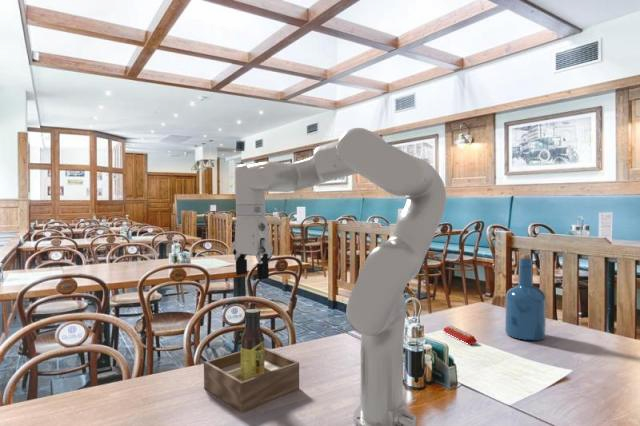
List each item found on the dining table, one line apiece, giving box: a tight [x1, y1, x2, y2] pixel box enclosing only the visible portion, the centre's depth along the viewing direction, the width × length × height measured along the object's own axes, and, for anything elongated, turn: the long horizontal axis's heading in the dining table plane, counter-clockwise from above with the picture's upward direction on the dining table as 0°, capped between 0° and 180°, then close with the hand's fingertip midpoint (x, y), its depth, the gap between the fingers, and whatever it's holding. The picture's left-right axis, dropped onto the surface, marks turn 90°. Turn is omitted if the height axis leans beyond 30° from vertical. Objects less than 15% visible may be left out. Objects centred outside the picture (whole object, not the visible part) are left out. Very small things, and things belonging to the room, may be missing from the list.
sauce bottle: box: [240, 308, 266, 381], centre depth 110 cm, size 6×6×20 cm
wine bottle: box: [504, 253, 547, 341], centre depth 152 cm, size 14×13×30 cm
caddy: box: [203, 347, 300, 414], centre depth 111 cm, size 18×18×7 cm
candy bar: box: [443, 325, 478, 345], centre depth 150 cm, size 16×4×3 cm, turn 18°
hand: (252, 276), depth 110 cm, fingers open, 9 cm apart
